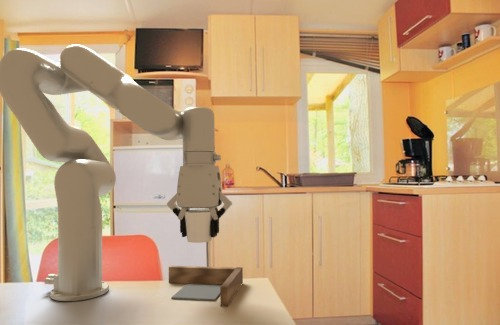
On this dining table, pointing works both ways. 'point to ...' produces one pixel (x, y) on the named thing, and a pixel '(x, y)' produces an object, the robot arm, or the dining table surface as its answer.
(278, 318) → the dining table surface
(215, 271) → the wooden corner fence
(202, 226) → the white cup
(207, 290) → the pad
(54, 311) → the dining table surface
